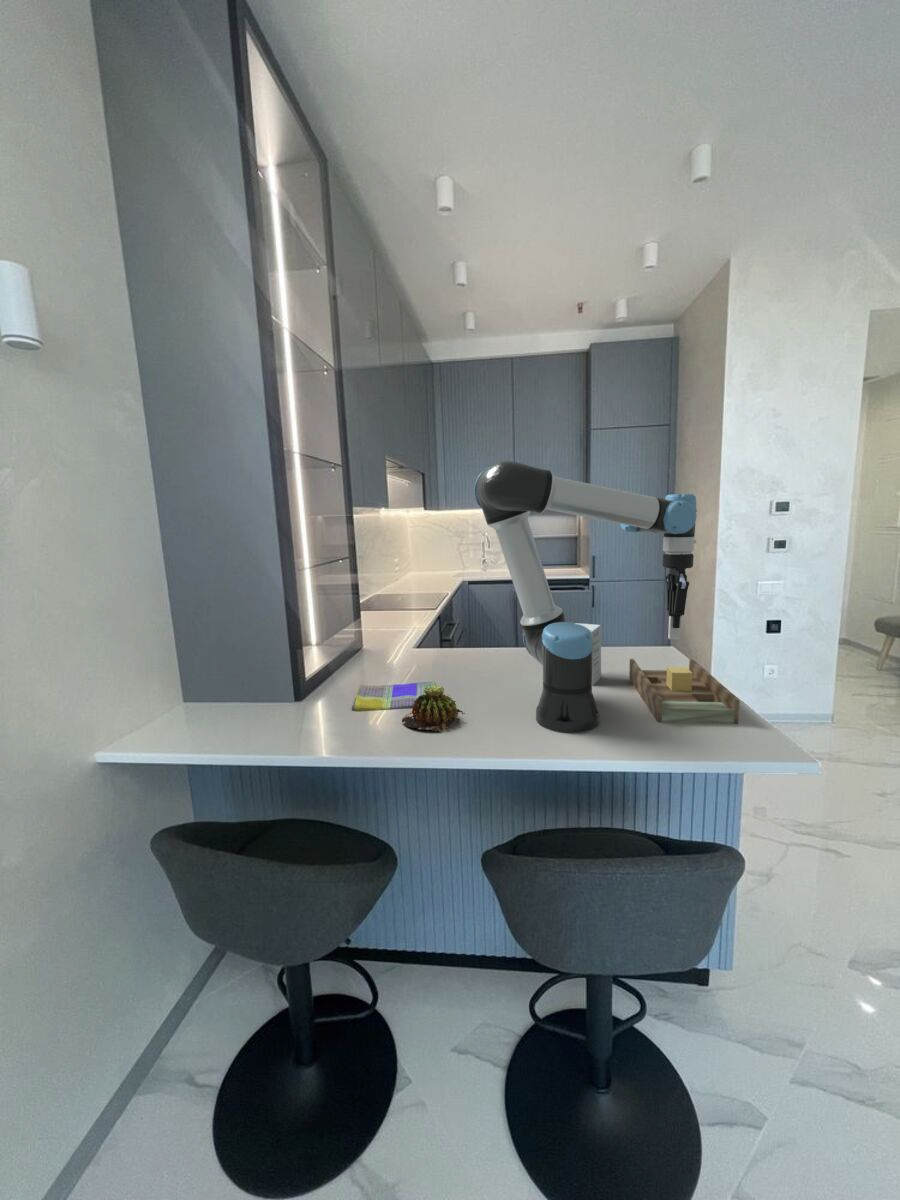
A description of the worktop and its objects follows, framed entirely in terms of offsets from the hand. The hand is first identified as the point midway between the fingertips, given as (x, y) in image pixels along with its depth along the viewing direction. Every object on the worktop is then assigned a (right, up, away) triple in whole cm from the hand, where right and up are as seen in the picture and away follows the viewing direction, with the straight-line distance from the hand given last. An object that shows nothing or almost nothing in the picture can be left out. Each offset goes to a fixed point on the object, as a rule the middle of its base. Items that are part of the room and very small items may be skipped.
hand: (674, 638), depth 138 cm
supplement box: (-21, -14, +16) cm, 30 cm away
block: (0, -13, -2) cm, 13 cm away
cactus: (-65, -21, -11) cm, 69 cm away
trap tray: (-1, -16, -3) cm, 17 cm away
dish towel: (-77, -18, +6) cm, 79 cm away
